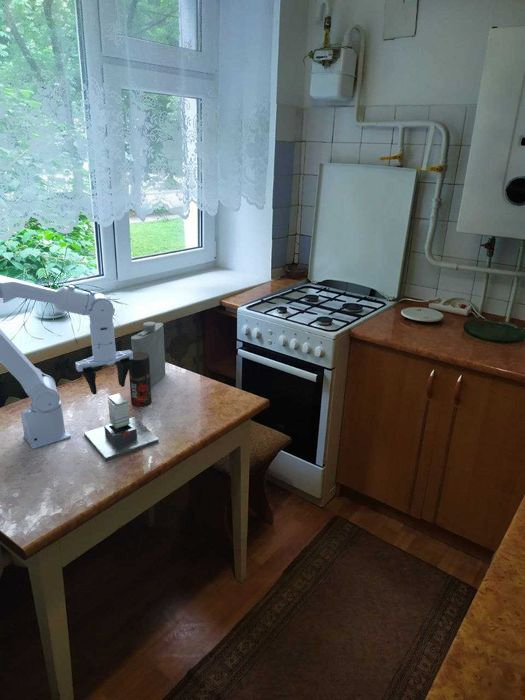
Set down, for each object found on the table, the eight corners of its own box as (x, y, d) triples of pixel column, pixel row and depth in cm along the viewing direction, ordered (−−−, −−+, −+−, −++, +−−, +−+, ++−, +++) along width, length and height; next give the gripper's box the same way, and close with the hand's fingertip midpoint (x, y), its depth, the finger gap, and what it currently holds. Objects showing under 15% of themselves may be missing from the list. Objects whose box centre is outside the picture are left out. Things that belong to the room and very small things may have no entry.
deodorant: (154, 398, 148) (151, 352, 143) (148, 408, 143) (145, 360, 137) (135, 397, 149) (131, 351, 143) (128, 406, 143) (124, 359, 138)
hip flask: (158, 371, 167) (156, 314, 159) (169, 373, 166) (167, 316, 158) (132, 391, 153) (128, 330, 145) (144, 393, 152) (140, 332, 144)
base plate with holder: (105, 461, 118) (104, 448, 117) (84, 435, 128) (83, 424, 127) (158, 442, 127) (158, 430, 125) (134, 419, 137) (133, 408, 135)
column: (117, 429, 123) (115, 404, 120) (108, 421, 127) (106, 396, 124) (131, 425, 125) (129, 400, 122) (122, 416, 129) (120, 392, 126)
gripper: (80, 352, 118) (86, 402, 124) (136, 340, 127) (140, 387, 132) (70, 343, 123) (76, 392, 129) (125, 332, 132) (128, 378, 137)
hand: (108, 389), depth 131 cm, fingers open, 7 cm apart
